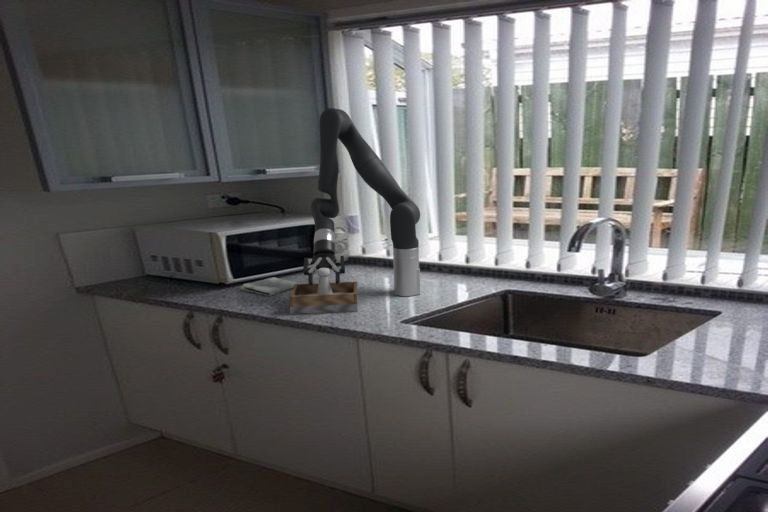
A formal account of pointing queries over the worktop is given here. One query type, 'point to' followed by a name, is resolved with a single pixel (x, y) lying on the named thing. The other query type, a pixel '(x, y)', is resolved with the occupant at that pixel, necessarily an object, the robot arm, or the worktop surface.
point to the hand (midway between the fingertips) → (324, 283)
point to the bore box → (324, 298)
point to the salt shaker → (324, 281)
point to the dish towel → (269, 286)
